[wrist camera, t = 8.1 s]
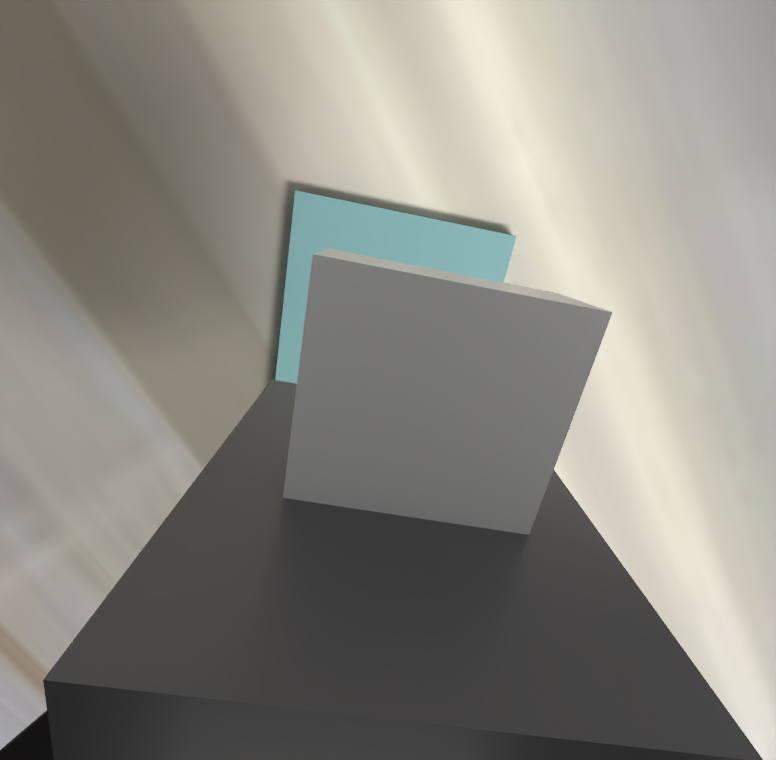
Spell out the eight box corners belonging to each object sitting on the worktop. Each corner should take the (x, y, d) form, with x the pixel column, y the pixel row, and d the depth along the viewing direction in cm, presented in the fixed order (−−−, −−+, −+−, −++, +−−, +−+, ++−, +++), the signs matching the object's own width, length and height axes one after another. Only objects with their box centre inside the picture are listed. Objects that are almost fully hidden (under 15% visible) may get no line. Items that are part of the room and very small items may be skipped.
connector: (412, 747, 10) (437, 1177, 6) (236, 728, 10) (106, 1166, 5) (563, 286, 7) (1025, 427, 2) (286, 232, 6) (-15, 233, 2)
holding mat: (429, 537, 20) (430, 543, 19) (263, 512, 19) (260, 518, 19) (512, 235, 15) (516, 235, 15) (297, 191, 15) (295, 190, 14)
